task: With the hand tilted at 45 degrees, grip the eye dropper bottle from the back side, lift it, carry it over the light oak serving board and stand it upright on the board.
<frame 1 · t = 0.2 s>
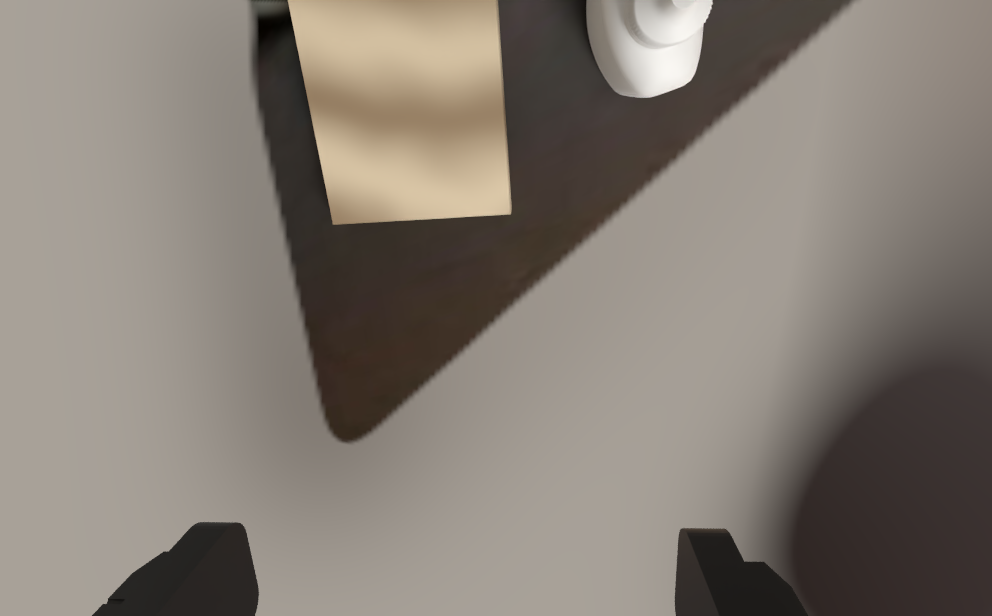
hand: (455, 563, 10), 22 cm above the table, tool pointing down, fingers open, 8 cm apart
oak board: (409, 102, 28), on the table
eye dropper bottle: (623, 31, 26), on the table
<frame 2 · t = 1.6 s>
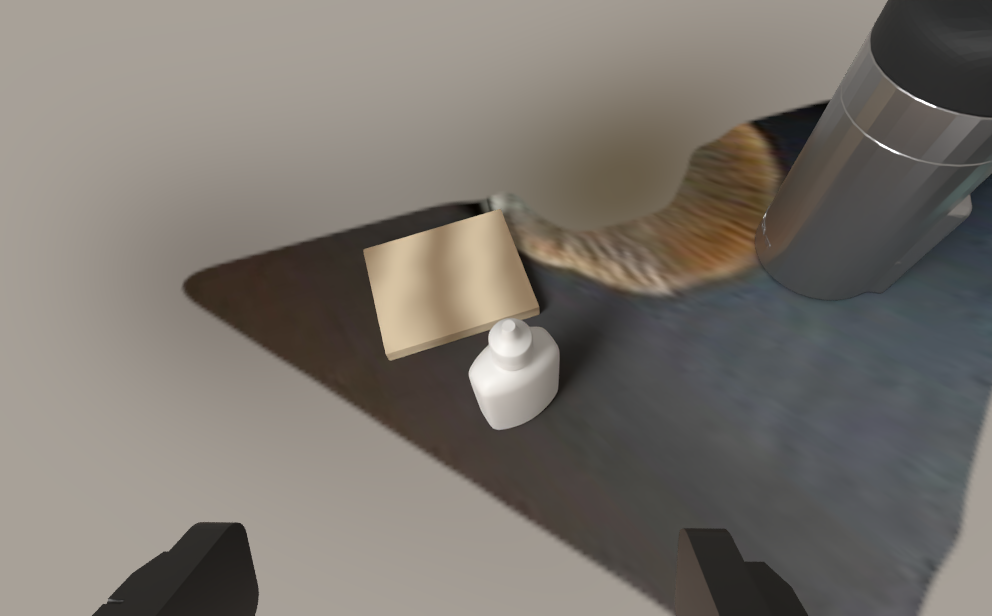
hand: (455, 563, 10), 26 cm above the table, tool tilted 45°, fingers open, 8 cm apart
oak board: (449, 284, 43), on the table
eye dropper bottle: (519, 400, 38), on the table
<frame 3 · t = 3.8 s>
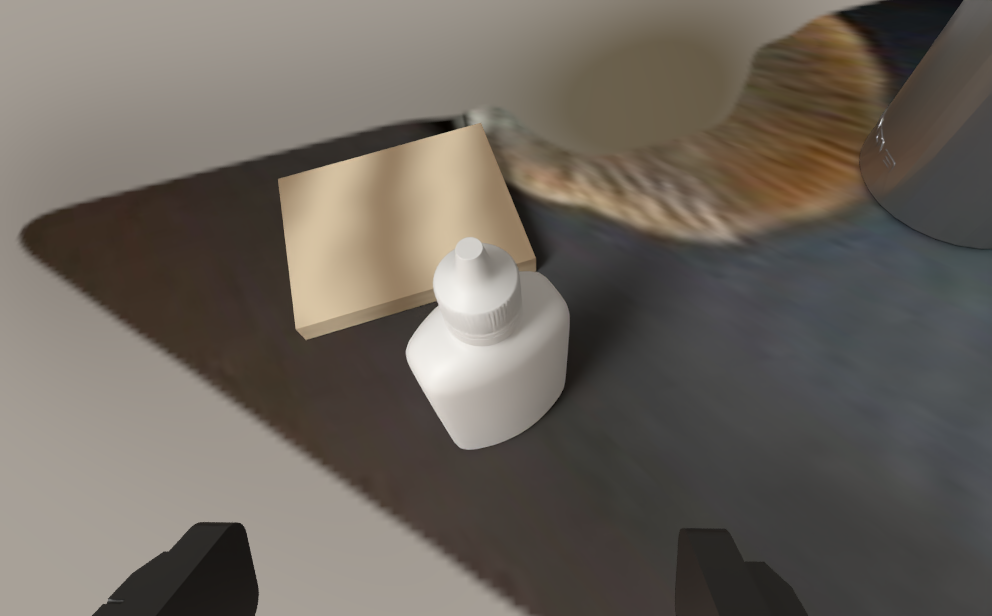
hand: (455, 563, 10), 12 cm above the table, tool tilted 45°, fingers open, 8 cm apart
oak board: (403, 229, 29), on the table
eye dropper bottle: (503, 402, 24), on the table
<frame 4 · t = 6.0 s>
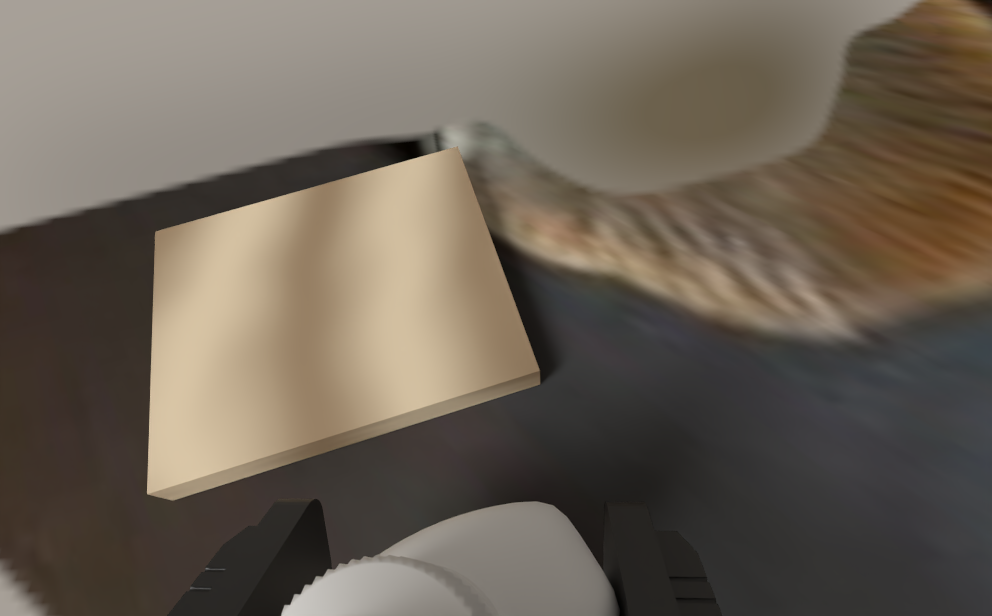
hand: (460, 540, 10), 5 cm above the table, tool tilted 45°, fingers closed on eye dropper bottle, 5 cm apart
oak board: (338, 310, 19), on the table
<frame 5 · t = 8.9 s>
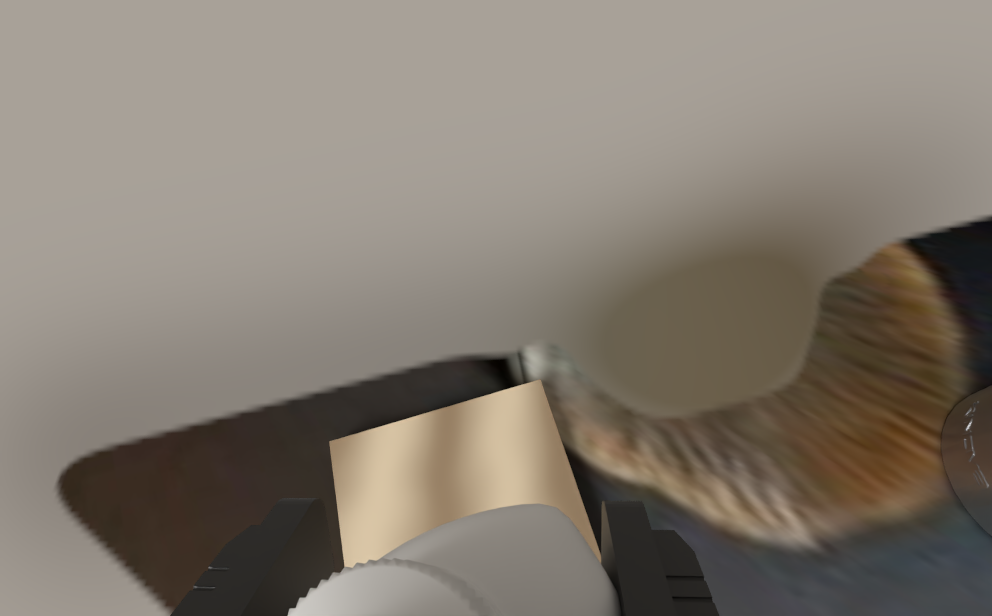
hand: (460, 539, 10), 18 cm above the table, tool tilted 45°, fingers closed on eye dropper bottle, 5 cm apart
oak board: (460, 505, 28), on the table
when the fingers open (8 cm above the table, at t = 11.8 s): eye dropper bottle drops 1 cm, resting on oak board.
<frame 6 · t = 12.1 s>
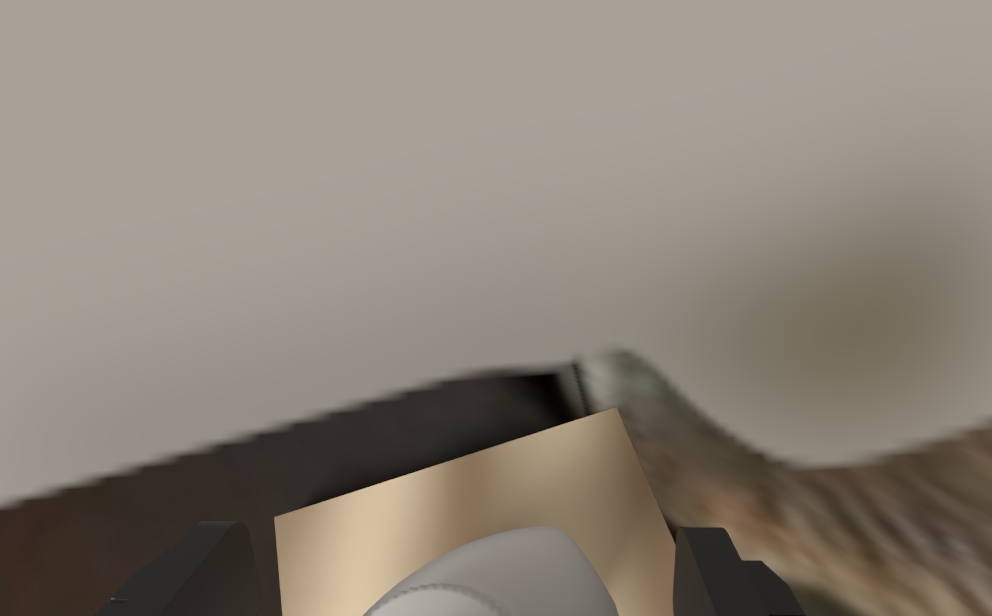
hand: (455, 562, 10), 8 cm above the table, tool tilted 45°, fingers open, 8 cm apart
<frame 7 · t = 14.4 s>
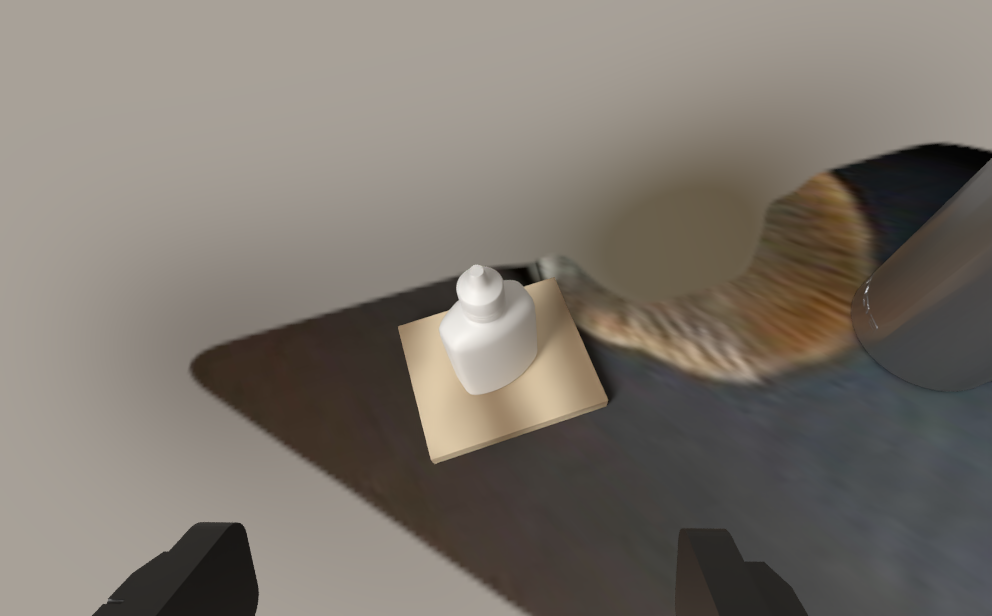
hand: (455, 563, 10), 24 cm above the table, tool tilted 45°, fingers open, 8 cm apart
oak board: (498, 367, 37), on the table
eye dropper bottle: (497, 365, 36), point 1 cm above the table, touching oak board
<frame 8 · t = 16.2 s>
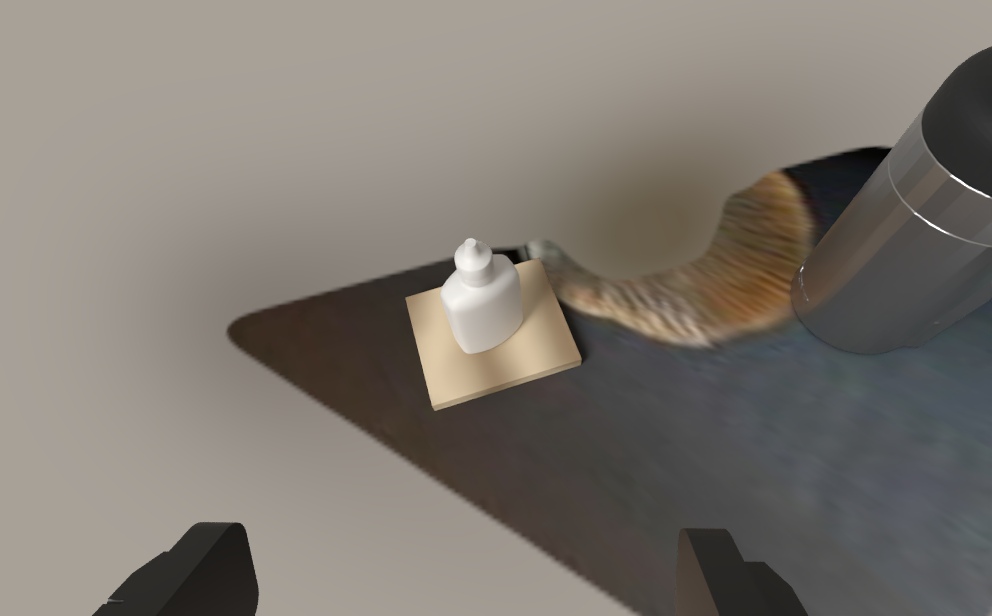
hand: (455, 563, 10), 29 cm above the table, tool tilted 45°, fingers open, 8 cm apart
oak board: (490, 333, 44), on the table
eye dropper bottle: (489, 330, 43), point 1 cm above the table, touching oak board
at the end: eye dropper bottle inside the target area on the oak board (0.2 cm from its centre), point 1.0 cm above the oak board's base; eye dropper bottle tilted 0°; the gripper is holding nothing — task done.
